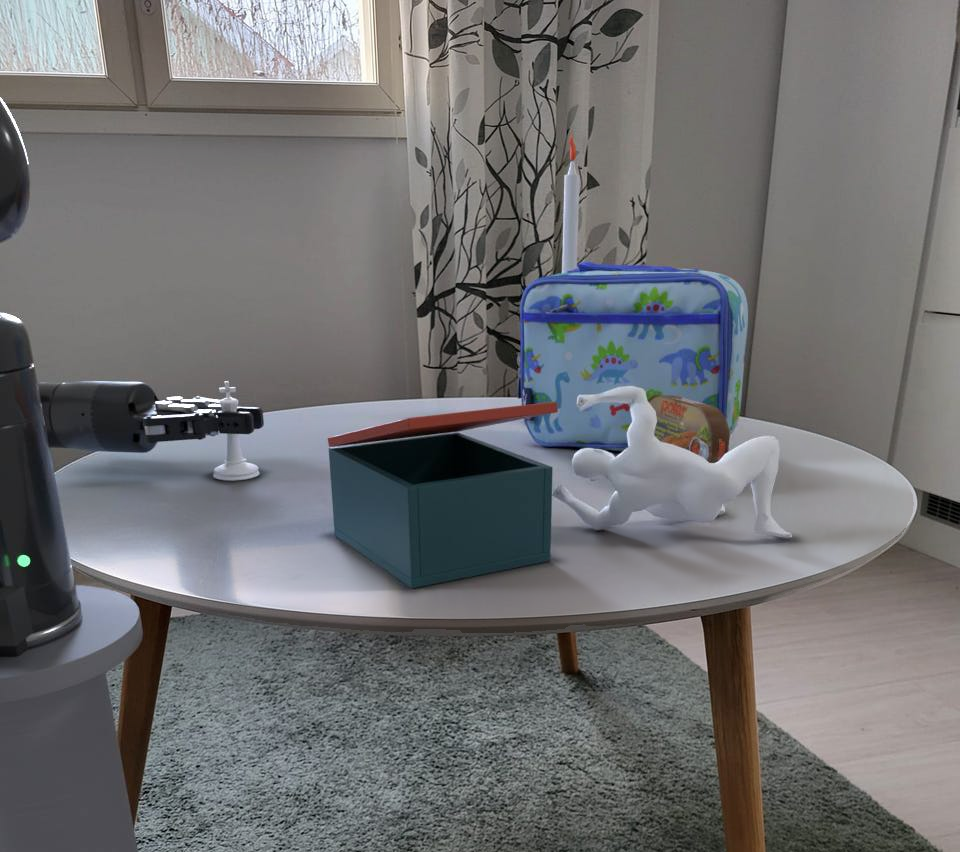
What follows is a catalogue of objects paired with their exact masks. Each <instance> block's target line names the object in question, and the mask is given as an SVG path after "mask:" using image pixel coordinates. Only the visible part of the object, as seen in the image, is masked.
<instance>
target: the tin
mask: <svg viewBox="0 0 960 852" xmlns="http://www.w3.org/2000/svg"><path fill="white" fill-rule="evenodd" d="M647 401H648V402H649V403H650V405H651V406H652V407H653V409H654V410H655V411H656V417H657V423H656V427H655V430H654V436H655V437H656V438H657V439H658V440H659V441H660V442H664V443H668V444H672V445H675V446H678V447H681V448H684V449H686V450H688V451H691V452H693V453H695V454H697V455H699V456H701V457H703V458H704V459H706V460H707V461H708V462H709V463H716V462H718V461H719V460H720V459H721V458H722V457H723V456H724V455H725V454H726V453H727V452H729V449H730V440H731V439H730V438H731V435H730V433H729V427H728V424H727V421H726V419H725V417H724V415H723V414H722V412H721V411H720V410H719V409H718V408H716V407H714V406H711V405H707V404H704V403H700V402H696V401H693V400H689V399H686V398H682V397H679V396H673V395H660V394H656V395H653V396H651V397H650V398H649V399H648V400H647Z"/></svg>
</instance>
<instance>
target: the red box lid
mask: <svg viewBox="0 0 960 852" xmlns="http://www.w3.org/2000/svg"><path fill="white" fill-rule="evenodd" d="M556 412H558V408H557V402H548V403H539V404H530V405H522V404H520V405H513V406H504V407H495V408H486V409H476V410H467V411H459V412H449V413H440V414H431V415H422V416H414V417H412V416H411V417H406V418H403V419H398V420H394V421H391V422H390V421H389V422H386V423H381V424H378V425H373V426H370V427H365V428H361V429H357V430H354V431H350V432H345V433H342V434H338V435H337V434H336V435H333V436H329V437H327V442H328V443H327V444H328V447H329V448H333V447H340V446H349V445H357V444H365V443H373V442H382V441H390V440H398V439H406V438H415V437H423V436H431V435H439V434H448V433H457V432H458V433H460V432H464V431H469V430H474V429H479V428H482V427H483V428H484V427H489V426H494V425H499V424H505V423H510V422H514V421H519V420H524V419H525V418H530V417H536V416H541V415H546V414H551V413H556Z"/></svg>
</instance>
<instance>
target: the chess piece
mask: <svg viewBox="0 0 960 852" xmlns="http://www.w3.org/2000/svg"><path fill="white" fill-rule="evenodd" d="M218 392H219V394H224V393H225V397H224V398H222V399H221V398H220V399H219V400H220V401H219V404H220V406H221V408H222V410H223V411H226V412H237V407H239V400H238V399H237V398H234V397H232V396H231V393H237V389H236V386H232V387H230V382H229V381H227V380H226V381H224V387H219V388H218ZM226 438H227V439H226V459H224V463H223V464H220V465H217V466H216V467H214V468H213V478H214V479H216V480H219V481H231V482H232V481H233V482H234V481H244V480H250V479H254V478H256V477H258V476H259V475H260V471H259V466H257V465H256V464H254V463H251V462H246V461H247V458H245V457H244V456H243V453H242V449H241V443H240V441H239V434H226Z"/></svg>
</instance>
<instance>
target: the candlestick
mask: <svg viewBox="0 0 960 852" xmlns="http://www.w3.org/2000/svg"><path fill="white" fill-rule="evenodd" d="M568 144H569V146H570V148H569V159H570V163H569V168H568V172H567V174H564V181H563V184H564V187H563V216H562V217H563V219H562V255H561V257H562V259H561V273H567V271H571V270H574V269H577V268H578V266H577V264H578V244H579V243H578V241H579V212H580V211H579V207H580V179H581V178H580V177H581V175H580V174H578V173H577V168H576V162H575V160H576V157H577V146H576V144H575V142H574V134H573V133H571V135H570V138H569V140H568Z"/></svg>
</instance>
